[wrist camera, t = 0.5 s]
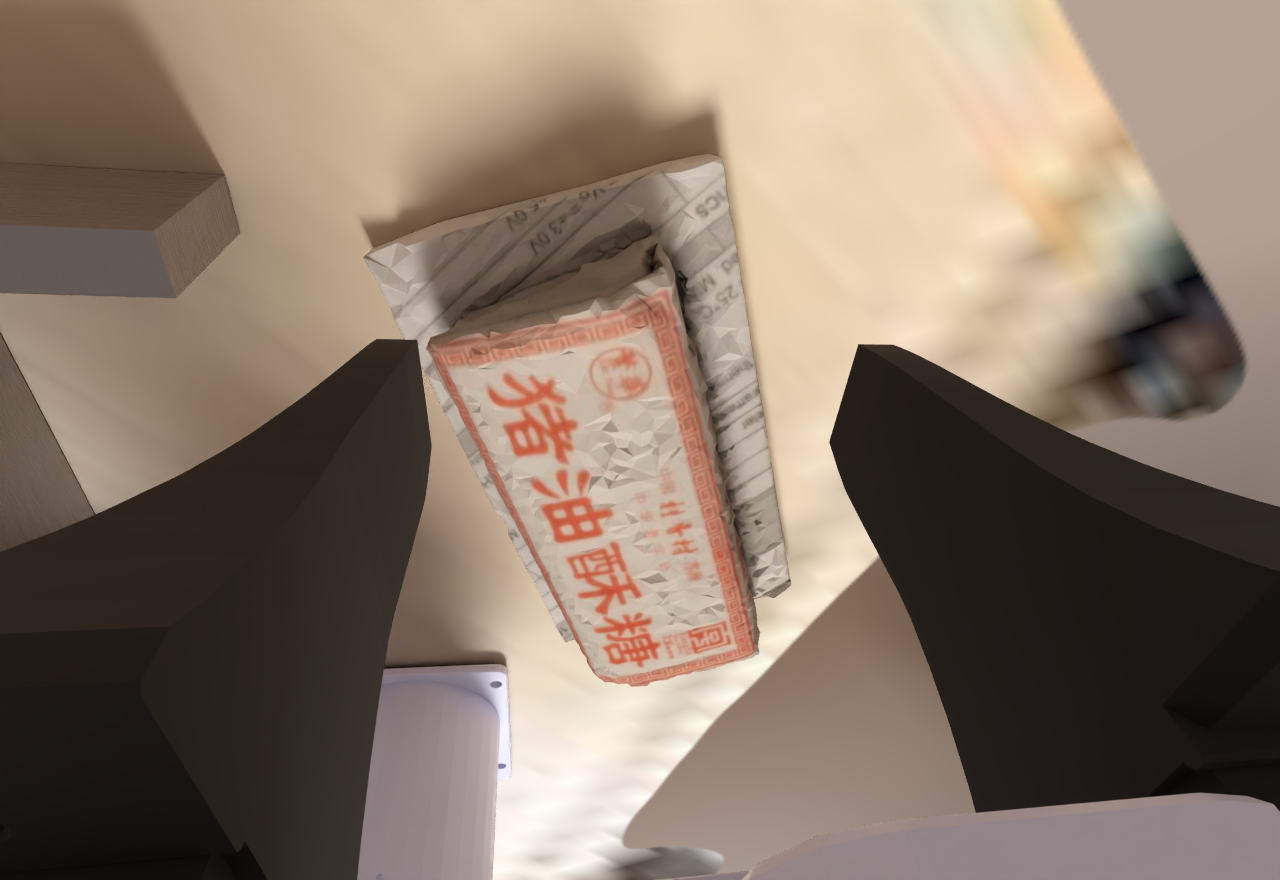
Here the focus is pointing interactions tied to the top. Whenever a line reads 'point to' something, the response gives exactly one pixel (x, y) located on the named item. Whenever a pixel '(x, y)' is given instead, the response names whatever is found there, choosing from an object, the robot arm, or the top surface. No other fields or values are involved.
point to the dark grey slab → (88, 265)
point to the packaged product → (608, 407)
